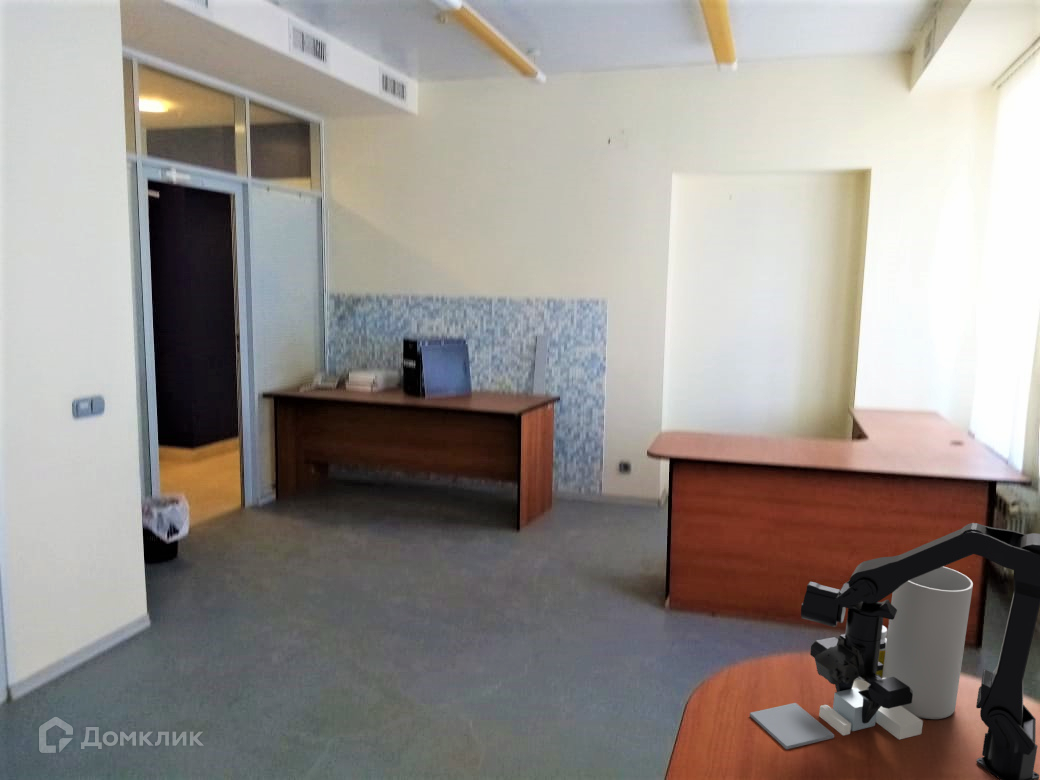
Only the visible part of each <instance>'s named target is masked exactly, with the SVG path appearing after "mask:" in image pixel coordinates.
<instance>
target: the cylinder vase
mask: <svg viewBox="0 0 1040 780" xmlns="http://www.w3.org/2000/svg"><path fill="white" fill-rule="evenodd" d="M973 585H974V583H973V581H972V579H970V577H968V576H967V575H966V574H963V573H962V572H959V571H958V570H955V569H953V568H949V567H946V566H943V567H941V568H938V569H936V570H933V571H931V572H928V573H926V574H923V575H921V576H918V577H916V578H913V579H911V580H909V581H907V582H906V583H904V584H903V585H901V586H900V587H899V588H898V589H896V590H895V591H894V592H893V593H891V594H892V596H891V600H890V601H891V602H890V603H891V605H893V606H894V607H895V608H896V609H897V613H896V615H895V618H894V619H893V620H891V619H888V627H887V636H886V639H887V642H886V650H885V658H884V667H883V675H882V678H889V677H895V678H897V679H898V680H900V681H901V682H903V683H904V684H906V685H907V686H909V687H910V688H911V689H912V691H913V697H912V703H910V704H906V705H902V707H903V708H905V709H906V710H908V711H909V712H911V713H912V714H913V715H915V716H916V717H918V718H919V719H924V720H925V719H927V720H941V719H946V718H948V717H950V716H952V715H953V714H954V712H955V710H956V707H957V706H956V704H957V700H958V699H957V698H958V691H959V685H960V679H961V673H962V671H961V670H962V665H963V664H962V663H963V656H964V649H965V643H966V642H965V641H966V635H967V629H968V628H967V627H968V622H969V621H968V620H969V614H970V610H971V609H970V608H971V607H970V606H971V601H972V593H973V588H974V587H973Z"/></svg>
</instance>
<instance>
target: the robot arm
mask: <svg viewBox="0 0 1040 780" xmlns="http://www.w3.org/2000/svg"><path fill="white" fill-rule="evenodd" d="M972 555H976V556H979V557H982V558H984V559H987V560H988V561H991V562H993V563H995V564H997V565H999V566H1001V567H1003V568H1006V569H1008V570H1013V595H1012V600H1011V603H1010V608H1009V613H1008V617H1007V621H1006V626H1005V631H1004V635H1003V639H1002V644H1001V647H1000V653H999V657H998V661H997V665H996V667H995V668H994V670H993V671H992V672H991V671H989V670H987V669H985V668H983V670H982V676H981V684H980V686H979V687H978V693H977V697H976V699H977V700H976V709H980V715H979V716H980V719H981V721H982V722H983V723H984V725H985V726H986V727H987V732H986V733H984V740H983V746H982V752H981V755H982V756H983V757H979V758H977V759H976V763H977V764H978V765H980V766H981V767H982V768H983V769H985V770H986V771H988V772H989V773H991V774H992V775H993V776H995V777H996V778H997V779H999V780H1039V779H1040V774H1039V773H1037V772H1035V771H1034V769H1035V764H1036V758H1037V752H1038V745H1037V744H1036V736H1037V735H1036V728H1037V727H1036V726H1037V725H1036V724H1037V719H1036V717H1035V716H1034V715H1033V714H1032V712H1031V711H1030V710H1029V709H1028V708H1027V707H1026V706H1025V705H1024V676H1025V672H1026V669H1027V668H1026V667H1027V664H1028V659H1029V654H1030V651H1031V646H1032V642H1033V639H1034V638H1033V637H1034V632H1035V629H1036V626H1037V625H1036V624H1037V620H1038V617H1039V611H1040V533H1035V532H1031V533H1022V532H1018V531H1015V530H1010V529H1003V528H998V527H997V528H995V527H991V526H987V525H983V524H980V523H979V522H978V523H975V522H971V523H968V524H966V525H964V526H963V527H962V528H960V529H957V530H955V531H952V532H950V533H948V534H946V535H944V536H941V537H939V538H938V537H937V539H934V540H931V541H930V542H928V543H925V544H922V545H919V546H918V547H915V548H913V549H911V550H907V551H906V552H904V553H901V554H899V555H894V556H883V557H882V556H881V557H877V558H872V559H868V560H865V561H863V562H861V563H859V564H858V565H857V566H856V568H855V569H854V571H853V572H852V574H851V576H850V577H849V580H848V581H846V582H845V583H843V585H842V586H841V588H840V589H838V588H834V587H830V586H826V585H822V584H820V583H817V582H815V581H809V582H808V584H807V586H806V589H805V591H806V592H805V594H804V598H803V602H802V603H801V608H800V617H801V619H803V620H806V621H811V622H814V623H818V624H822V625H826V626H829V627H832V628H835V627H837V625H838V623H840V624H843V622H844V619H845V615H846V609H847V617H846V625H845V633H842V634H839V637H838V638H836V637H834V636H833V637H828V638H823V639H817V640H815V641H814V642H813V643H812V644H811V645H810V654H809V656H811V657H812V658H813V659H814V662H815V666H816V671H817V674H818V675H819V676H821V677H823V678H825V680H827V681H828V682H829V683H830V684H832V685H834V686H835V691H836V692H839V691H844V690H849V689H852V686H853V683H854V681H856V680H855V679H856V678H857V677H859V678H860V679H861V680H863V681H866V682H868V683H869V686H868V688H867V690H863V691H858V692H859V694H860V695H861V696H862V697H863V708H862V722H863V723H864V724H865V723H868V722H869V721H870V720H871V718H872V717H873V716H874V715H875V713H876V712H877V711H878V709H879V708H880V707H881V706H882V707H883V708H888V709H889V708H893V707H898V706H902V705H906V704H910V703H912V697H913V691H912V689H911V688H910V687H909V686H907V685H906V684H904V683H903V682H901V681H900V680H898V679H897V678H895V677H889V678H882V677H880V676H879V675H877V674H876V673H877V671H880V670H883V664H882V663H880V662H879V661H878V659H879V651H880V649H884V648H885V647H886V643H885V642H884V641H882V640H881V634H882V626H884V625H883V624H884V619H887V620H889V619H891V620H893V619H894V618H895V615H896V613H897V609H896V608H895V607H894V606H893V605H891V602H890V600H889V599H885V598H887V597H889V595H891V594H892V593H893V592H894V591H895V590H896V589H898V588H899V587H900V586H901V585H903V584H904V583H906V582H907V581H909V580H911V579H913V578H916V577H918V576H921V575H923V574H926V573H928V572H931V571H933V570H936V569H938V568H941V567H946V566H948V565H950V564H953V563H955V562H957V561H960V560H962V559H964V558H967V557H970V556H972ZM883 599H885V600H883ZM882 600H883V601H882Z"/></svg>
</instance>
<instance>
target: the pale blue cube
mask: <svg viewBox="0 0 1040 780" xmlns="http://www.w3.org/2000/svg"><path fill="white" fill-rule="evenodd" d="M858 691H860V690H859V689H858V688H853V689H849V690H844V691H839V692H837V691H836V692H834V697H833V704H832V709H833V710H835V711H836V712H837V713H838V714H840V715H841V716H842V717H843V718H845V719H846V720H847V721H849V722H850V723H851V730H850V732H855V731H859V730H864V729H868V728H873V727H875V726H876V722H875V721H876V713H875V715H874V716H873V717H872V718H871V720H870V721H869V722H868V723H865V724H864V723H863V722H862V708H863V697H862V696H861V695H860V694H859V692H858Z"/></svg>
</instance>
